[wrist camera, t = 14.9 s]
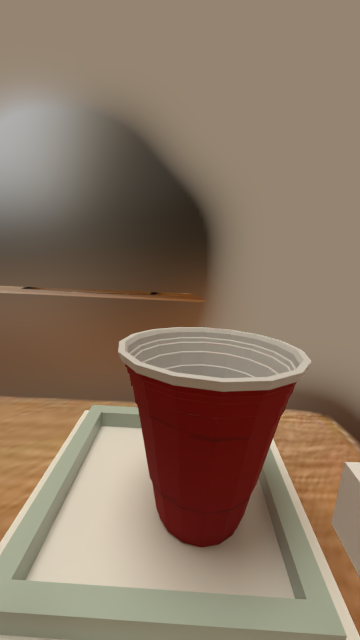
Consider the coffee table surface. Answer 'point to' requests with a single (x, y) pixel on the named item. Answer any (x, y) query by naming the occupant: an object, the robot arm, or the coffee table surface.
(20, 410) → the coffee table surface
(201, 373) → the plastic cup
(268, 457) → the base plate
